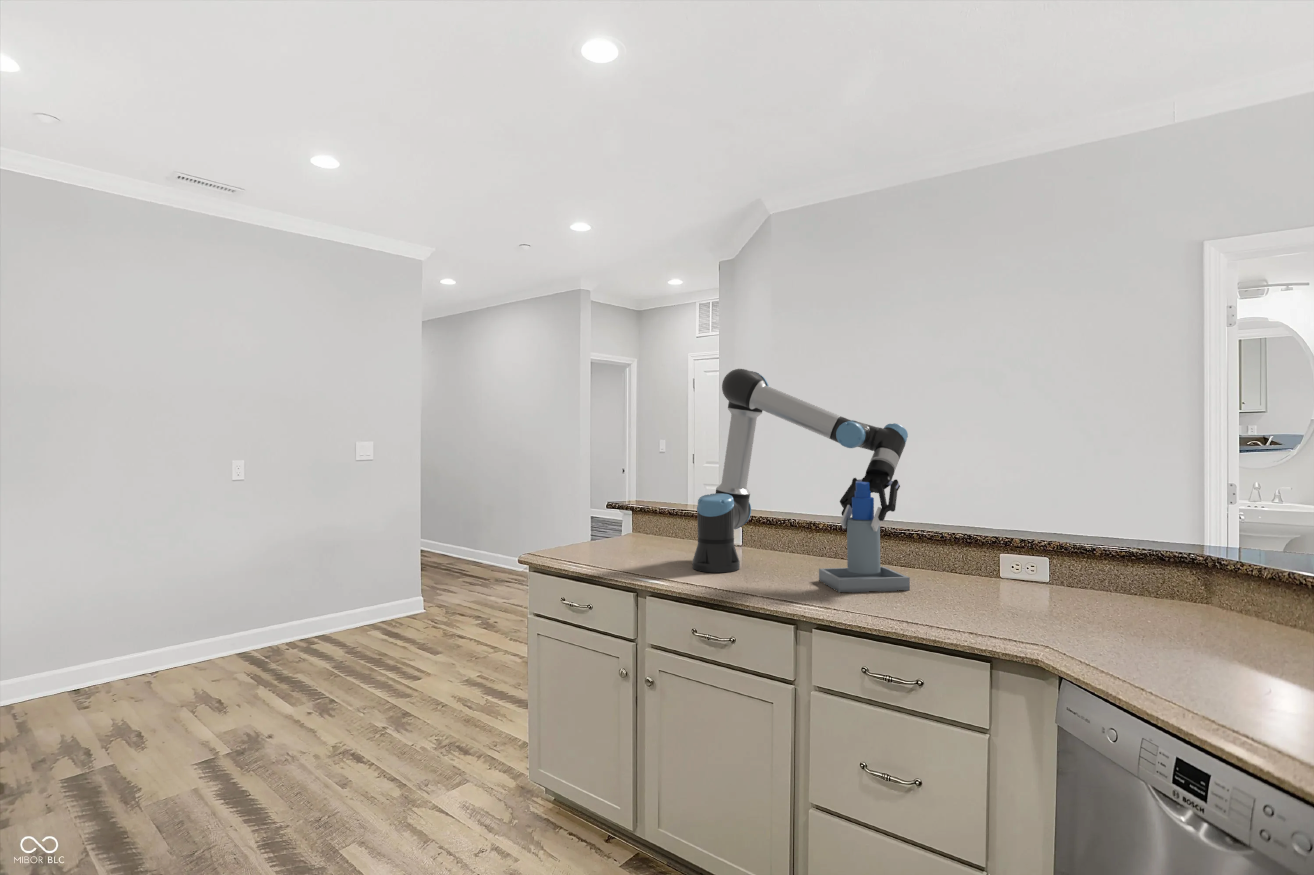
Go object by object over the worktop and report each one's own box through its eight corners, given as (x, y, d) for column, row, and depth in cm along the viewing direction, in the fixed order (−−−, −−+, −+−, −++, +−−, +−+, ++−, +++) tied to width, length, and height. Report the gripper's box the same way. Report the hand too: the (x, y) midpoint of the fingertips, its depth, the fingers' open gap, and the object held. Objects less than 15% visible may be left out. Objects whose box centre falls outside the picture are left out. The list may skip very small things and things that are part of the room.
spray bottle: (844, 567, 188) (843, 481, 188) (876, 567, 187) (875, 480, 187) (850, 573, 179) (849, 483, 179) (884, 573, 178) (882, 483, 178)
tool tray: (819, 580, 189) (818, 568, 189) (883, 578, 192) (883, 566, 192) (839, 592, 174) (839, 579, 174) (909, 590, 177) (909, 577, 177)
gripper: (921, 476, 187) (899, 539, 175) (852, 474, 201) (828, 531, 190) (914, 459, 183) (891, 521, 171) (844, 457, 197) (818, 515, 186)
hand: (858, 526), depth 180 cm, fingers closed on spray bottle, 8 cm apart
